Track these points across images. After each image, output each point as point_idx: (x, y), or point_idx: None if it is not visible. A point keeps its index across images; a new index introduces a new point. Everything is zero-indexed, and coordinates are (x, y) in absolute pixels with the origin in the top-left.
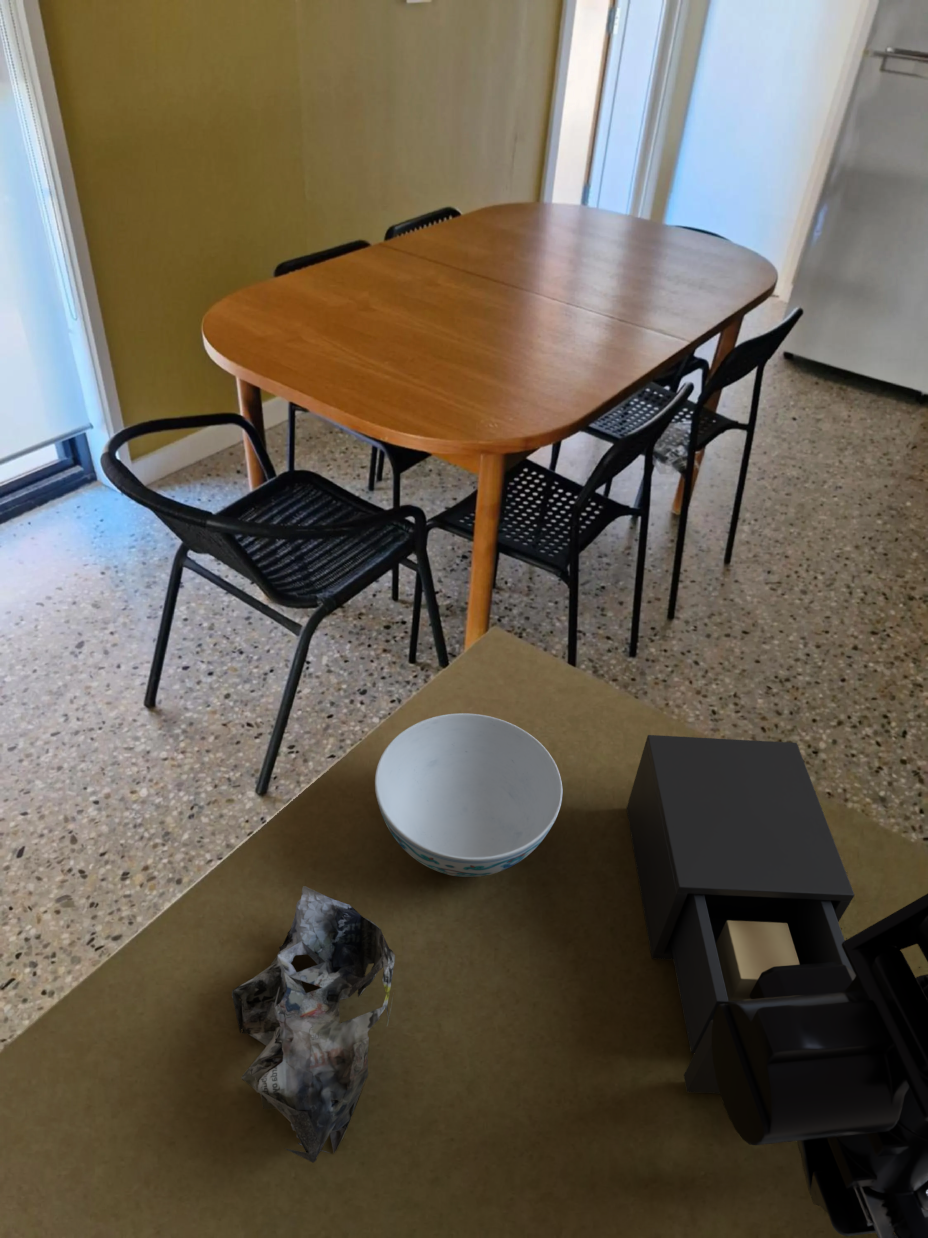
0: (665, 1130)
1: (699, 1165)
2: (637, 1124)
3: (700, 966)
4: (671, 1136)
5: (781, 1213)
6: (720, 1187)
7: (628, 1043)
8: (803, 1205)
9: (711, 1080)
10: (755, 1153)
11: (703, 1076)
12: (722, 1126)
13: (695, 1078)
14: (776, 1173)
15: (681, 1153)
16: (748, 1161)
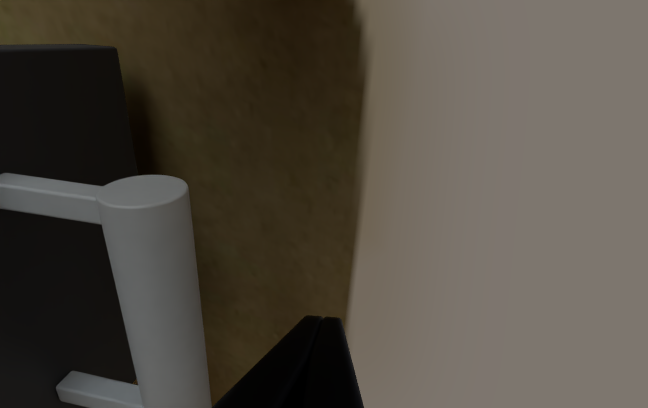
0: (223, 358)
1: (266, 336)
2: (219, 384)
3: None
4: (230, 354)
5: (333, 252)
6: (294, 321)
7: None
8: (322, 212)
9: (130, 357)
10: (244, 256)
11: (123, 381)
12: (209, 288)
13: (131, 381)
14: (273, 236)
15: (251, 351)
16: (257, 271)
